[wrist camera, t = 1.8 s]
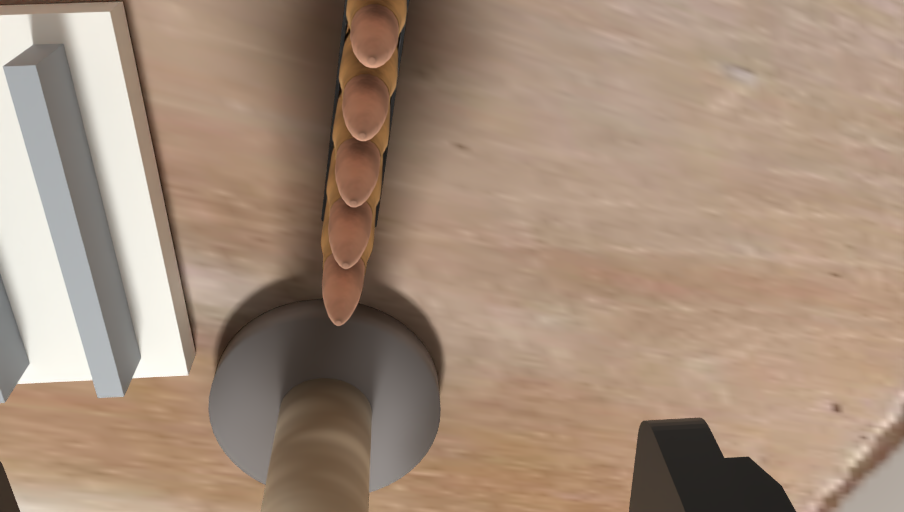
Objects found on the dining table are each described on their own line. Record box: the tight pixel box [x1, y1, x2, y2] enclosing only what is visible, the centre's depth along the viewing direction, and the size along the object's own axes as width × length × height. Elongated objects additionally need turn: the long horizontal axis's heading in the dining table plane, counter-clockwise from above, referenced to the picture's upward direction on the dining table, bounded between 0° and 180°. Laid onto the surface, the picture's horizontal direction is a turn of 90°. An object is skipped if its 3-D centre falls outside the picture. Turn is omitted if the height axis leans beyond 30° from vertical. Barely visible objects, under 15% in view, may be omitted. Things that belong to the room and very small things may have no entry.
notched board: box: [0, 2, 196, 403], centre depth 31 cm, size 9×15×4 cm, turn 1°
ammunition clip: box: [321, 0, 409, 326], centre depth 25 cm, size 11×2×12 cm, turn 170°
